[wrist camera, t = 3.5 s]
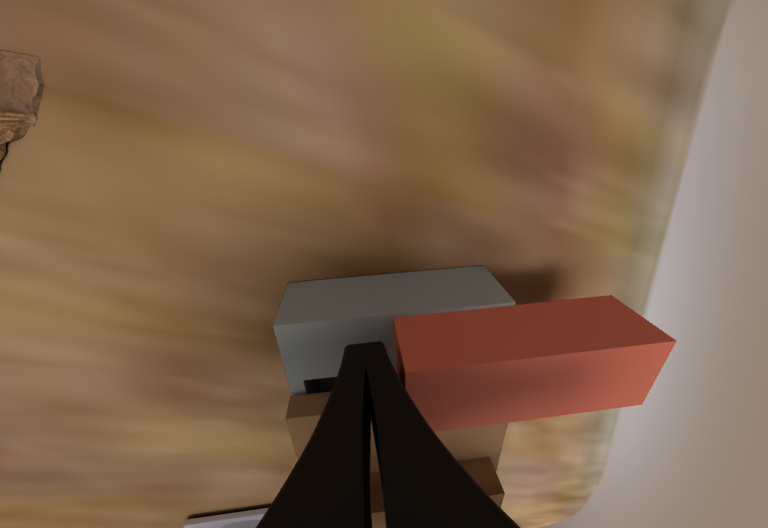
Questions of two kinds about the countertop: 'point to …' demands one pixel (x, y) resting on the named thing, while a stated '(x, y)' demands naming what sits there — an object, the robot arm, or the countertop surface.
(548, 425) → the countertop surface
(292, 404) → the lid
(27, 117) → the wooden fragment
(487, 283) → the gray box
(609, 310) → the red block
